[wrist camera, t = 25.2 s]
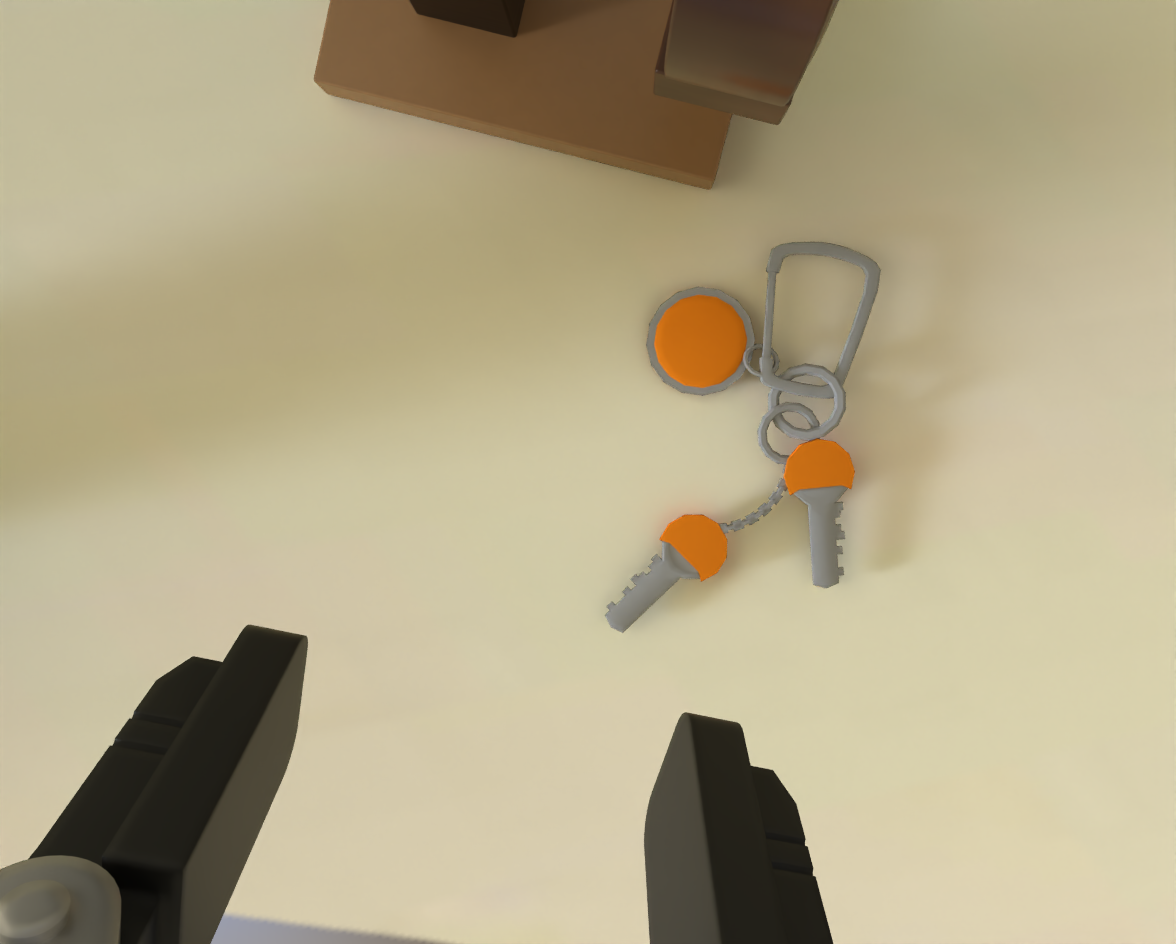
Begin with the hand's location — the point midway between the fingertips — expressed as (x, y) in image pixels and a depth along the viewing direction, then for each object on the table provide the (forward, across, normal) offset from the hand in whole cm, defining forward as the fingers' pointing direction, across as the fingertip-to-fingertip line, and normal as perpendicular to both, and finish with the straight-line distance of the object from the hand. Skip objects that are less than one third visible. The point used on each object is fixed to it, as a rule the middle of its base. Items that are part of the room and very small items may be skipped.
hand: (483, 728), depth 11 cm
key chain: (+16, -7, +1) cm, 17 cm away
